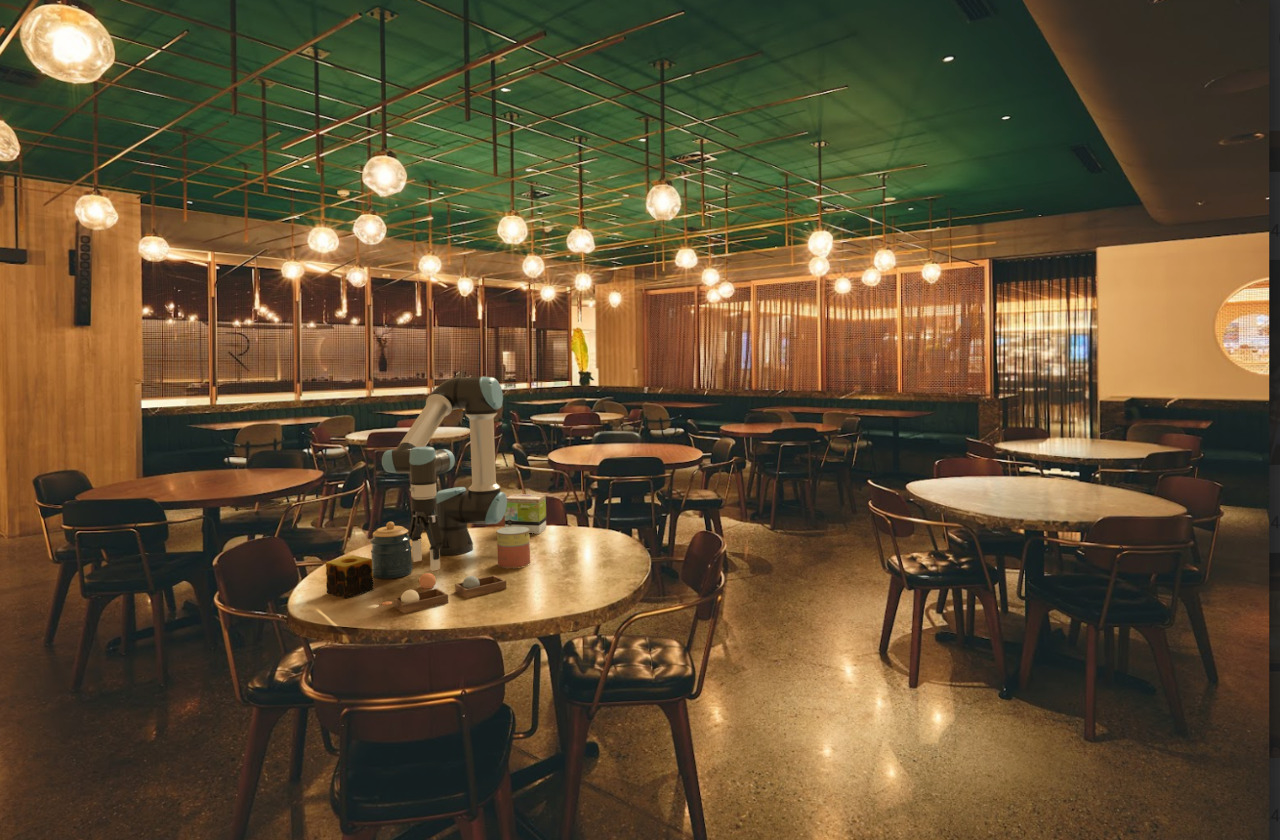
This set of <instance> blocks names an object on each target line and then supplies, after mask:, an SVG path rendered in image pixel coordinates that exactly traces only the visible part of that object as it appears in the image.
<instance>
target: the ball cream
mask: <svg viewBox="0 0 1280 840" xmlns="http://www.w3.org/2000/svg"><path fill="white" fill-rule="evenodd" d="M418 593H419V592H417V590H414V589H407V590H405V591H404V592H402V594H401V596H400V597H401V602H403V603H404V604H407V603H412V602H416V601H419V594H418Z"/></svg>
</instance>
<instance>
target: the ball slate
mask: <svg viewBox="0 0 1280 840" xmlns="http://www.w3.org/2000/svg"><path fill="white" fill-rule="evenodd" d="M478 579H479V578H477V576H474V575H469V576H466V577H465V578H464V579H463V580H462V581H463V587H464V588H466V589H471V588H475V587H479V585H480V583H479V580H478Z"/></svg>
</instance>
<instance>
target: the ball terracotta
mask: <svg viewBox="0 0 1280 840" xmlns="http://www.w3.org/2000/svg"><path fill="white" fill-rule="evenodd" d="M436 583H437V579H436V576H435V575H434V574H432V573H430V572H425V573H423V574H422V575H421V576H419V581H418V585H419V586H420V587H421V589H424V590H431V589H432V588H433V589H434V587H435V585H436Z"/></svg>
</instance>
